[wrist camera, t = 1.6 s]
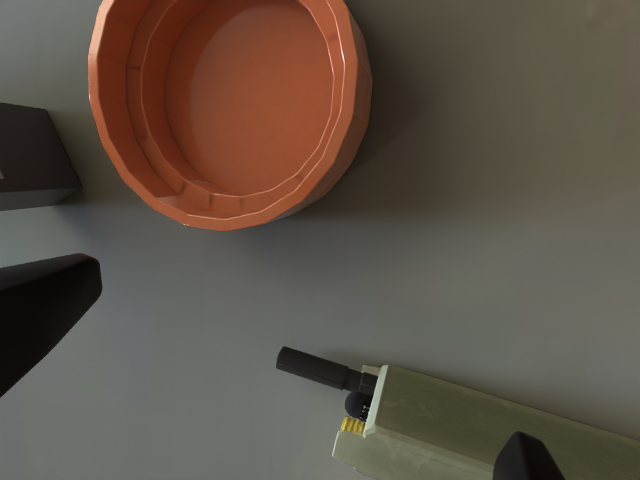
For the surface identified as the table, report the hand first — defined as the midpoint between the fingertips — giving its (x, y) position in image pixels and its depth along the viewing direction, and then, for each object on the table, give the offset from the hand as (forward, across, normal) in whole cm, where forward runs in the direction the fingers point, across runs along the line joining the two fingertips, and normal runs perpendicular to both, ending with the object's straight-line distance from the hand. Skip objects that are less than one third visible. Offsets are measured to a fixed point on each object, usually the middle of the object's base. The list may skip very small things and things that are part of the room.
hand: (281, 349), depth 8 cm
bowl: (+15, +9, -1) cm, 18 cm away
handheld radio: (+12, -9, +11) cm, 19 cm away
